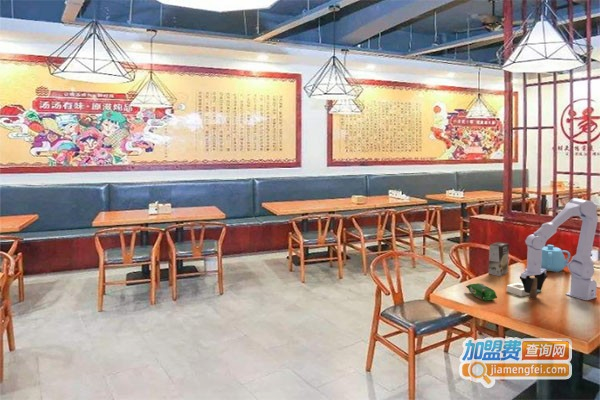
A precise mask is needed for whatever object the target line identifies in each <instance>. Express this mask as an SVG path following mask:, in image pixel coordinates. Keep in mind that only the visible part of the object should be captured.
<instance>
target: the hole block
mask: <svg viewBox="0 0 600 400" xmlns="http://www.w3.org/2000/svg"><path fill="white" fill-rule="evenodd" d="M540 292H542V289H541V290H538V289H537V293H540ZM506 293H511V294H514V295H516V296H520V297H524V296H529V293H527V292H525V290H524V286H523V283H522V281H519V282H515V283H511V284H507V285H506Z"/></svg>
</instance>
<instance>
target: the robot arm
mask: <svg viewBox="0 0 600 400" xmlns="http://www.w3.org/2000/svg"><path fill="white" fill-rule="evenodd" d="M597 207H598V206H597V205H596V204H595V203H594V202H593V201H591V200H585V199H580V198H577V197H576V198H575V197H574V198H572V199H570V200H569V202H567V203H566V204H565V206H564V208H563V209H562V210H561V211H560V212H559V213H558V214H557V215H556V216H555V217H554V218H553V219H552V220H551V221H549V222H545V223H542V224H541V226H540V227H539V228H538V229H537V230H536V231H533V234H529V235H528V236H526V239H525V240H524V242H525V243H524V244H525V245H526V246H527V253H526V254H527V255H526V258H527V260H526V268H525V269H524V271H523V272H521V273H520V276H519V280H520V282H522V283H523V286H524V290H525V292H527V293H530V291H531V285H532V282H533V280H534V279H531V277H534V278H537V289H538V290H541V291H542V288H543V285H544V283H545V281H546V279H547V278H548V274H547V270H546V269H543V268H541V263H542V248H543V247H544V246H545V247H546V245H547V241H549V239H550V238H551V237H553V236H554V235H555V234H557V231H558V229H557V228H558V227H560V226H561V225H562V224H564V223H565V222H566V221H568V219H570V218H571V217H579V218H580V219H581V220H582V221H581V227H580V231H579V233H580V234H579V237H578V243H577V247H576V253H575V254H574V255H573V256H572V257H571V259H570V261H569V262H570V263H567V265H568V267H567V269H568V271H569V272H570V277H571V278H570V291H569V292H566V293H565V295H567V296H569V297H573V298H575V299H580V300H582V301H590V300H593V299H597V297H598V296H597V286H598V285H597V281H596V280H595V279H592V277H593V276H594V274H595V268H594V264H595V262H594V261H593V259H592V258H591V255H592V252H593V251H592V250H593V245H594V240H595V237H596V231H597V225H598V219H599V216H598V213H597V209H598V208H597Z"/></svg>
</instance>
